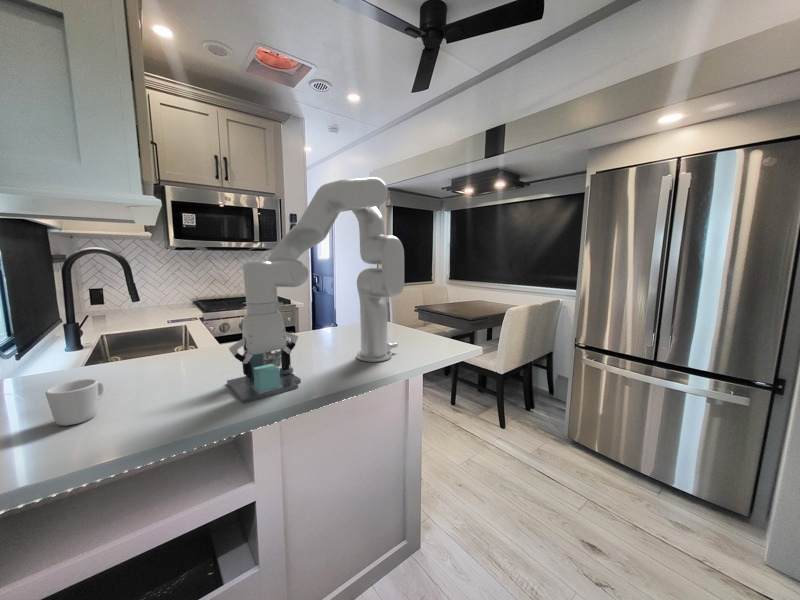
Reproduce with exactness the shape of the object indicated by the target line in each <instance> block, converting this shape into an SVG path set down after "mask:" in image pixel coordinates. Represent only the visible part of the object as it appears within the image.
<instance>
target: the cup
mask: <svg viewBox="0 0 800 600" xmlns="http://www.w3.org/2000/svg"><path fill="white" fill-rule="evenodd" d="M103 395H104V384H103V382H102V381H99V380H97V379H94V378H93V379H92V378H86V379H85V378H83V379H77V380H76V379H75V380H71V381H68V382H63V383H60V384H56V385H54V386H52V387H50V388H48V389H46V391H45V397H46V399H47V403H48V405H49V408H50V411H51V414H52V418H53V421H54V422H55V424H57V425H58V426H63V427H64V426H73V425H77V424H80V423H81V424H82V423H84V422H87V421H89V420H91V419H92V418H95V416H96V415H97V413H98V411H99V400H100V399H102V397H103Z"/></svg>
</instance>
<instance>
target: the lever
mask: <svg viewBox="0 0 800 600" xmlns="http://www.w3.org/2000/svg"><path fill="white" fill-rule="evenodd" d="M286 339H287V344H286V346H287V345H288V344H289V343H290V338H288V337H286ZM280 350H281V365H280V367H278V368H279V371H280V373H282V374H283V375H284V374H288V373H292V374H293V373H294V368H293V367H292V366H291V365H292V364H291V360H290V364H289V368H285V367H284V366H283V365H282V352H283V350H282V349H280Z"/></svg>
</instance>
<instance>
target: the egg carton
mask: <svg viewBox="0 0 800 600" xmlns="http://www.w3.org/2000/svg"><path fill="white" fill-rule="evenodd" d="M266 358H267V359H266ZM269 364H274V365H275V366H277V367H278V365H280V366H281V349H279V350H274V352H272V351H270V352H265V353H263V365H269Z"/></svg>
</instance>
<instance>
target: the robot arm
mask: <svg viewBox="0 0 800 600" xmlns="http://www.w3.org/2000/svg"><path fill="white" fill-rule="evenodd" d="M388 193H389V189H388V187H387V185H386V183H385V181H384V180H382V179H381V178H379V177H375V176H371V177H361V178H348V179H347V178H346V179H345V178H344V179H340V180H335V181H332V182H331V181H330V182H328V183H325V184H323V185H321V186H320V187H319V188H318V189H317V190H316V192H315V194H314V195H313V197H312V199H311V201H310V202H309V204H307V207H306V209H305V211H304V212H303V214H302V216H301V217H300V219H299V220H298V222H297V223H296V224H295V225H294V226H293V227H292V228H291V229H290V230H289V231H288V232H287V233H286V234H285V235H284V237H282V238H281V239H280V240H279V242H278V243H277V244H276V245H275V246H274V249H273V250H272V252H271V254H270V255H269V256H268V259H267V260H250V261H246V262H245V263H244V264H243V266H242V271H243V272H242V273H243V282H244V283H243V285H244V294H245V303H246V314H245V315H243V317H242V319H243V333H242V338H241V339H240V340H238V341H237V342H236V343H234V344H233V345H231V346H230V347H228V350H229V353H231V355H232V356H233V357H234V358H235V359H237V360H238V361H239V362H241V363H242V372H243V375H244V376H247V377H248V378H251V377H252V370H251V363H250V362H249V360H250V359H251V357H252V356H253V355H254V354H260V353H265V352H270V351H271V352H273V351H274V352H275V351H280V350H281V349H282V350H283V352H282V365H283V366H284V367H285V368H289V364H290V361H291V353H292V350H294V348H295V347H296V344H297V342H298V339H299V335H297V334H294V333H290V332H288V331H286V326H285V321H284V319H283V315H282V312H281V311H280V309H281V308H283V307H284V302H283V301H279V299H278V297H279V296H278V288H298V287H300V286H302V285H304V283H306V282H307V280H308V278H309V269H308V267H307V266H306V264H305V263H303V261H301V260H298V259H299V258H300V257H301V256H302V255H303V254H304V253H305V252H306V251H308V250H310V249H311V248H314V247H315V246H317V245H319V244H320V243H322V242H323V241H324V240H325V239H326V238H327V237H328V234H329V233H330V231H331V229H332V227H333V225H334V223H335V221H336V219H337V218H338V217H339V215H340V213H342V212H348V211H349V212H350V211H351V212H352V213H353V214H354V215H355V218H356V220H357V222H358V223H357V224H358V230H359V255H360V259H361V260H362V261H363V262H364V263H366V264H368V265H381V268H378V267H377V268H376V267H375V268H374V267H373V268H371V267H370V268H366V269H363V270H361V271H360V272H359V274H358V275H357V278H356V286H357V292H358V297H359V298H358V299H359V309H360V310H359V311H360V313H359V316H360V317H359V320H360V321H359V323H360V350H359V351H358V352H357V353H356V358H357V359H358V360H360V361H362V362H367V363H368V362H369V363H375V362H376V363H377V362H384V361H387V360H389V359H391V358H392V357H393V354H392V351H391V350H392V349H395V348H398V346H399V343H398V342H397V341H395V342H392V343H391V342H388V305H387V301H386V299H385V298H388V299H390V298H391V299H393V298H397V297H399V296H400V295H401V294H402V293H403V291H404V286H405V249H404V246H403V243H402V241H401V239H399V238H398V237H397V236H395V235H390V234H388V235H387V234H386V235H385V233H386V232H385V223H384V222H385V221H384V217H383V214H382V213H381V211H380V210H379V209H378V207H380V206H382V205H383V204H384V203H385V202H386V201H387V199H388ZM286 338H289V339H290V340H289V342H290V343H289V344H288V345H287V346H286V344H287V339H286ZM241 348H243V354H240V352H239V351H238V350H239V349H241ZM244 350H245V352H244Z"/></svg>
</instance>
